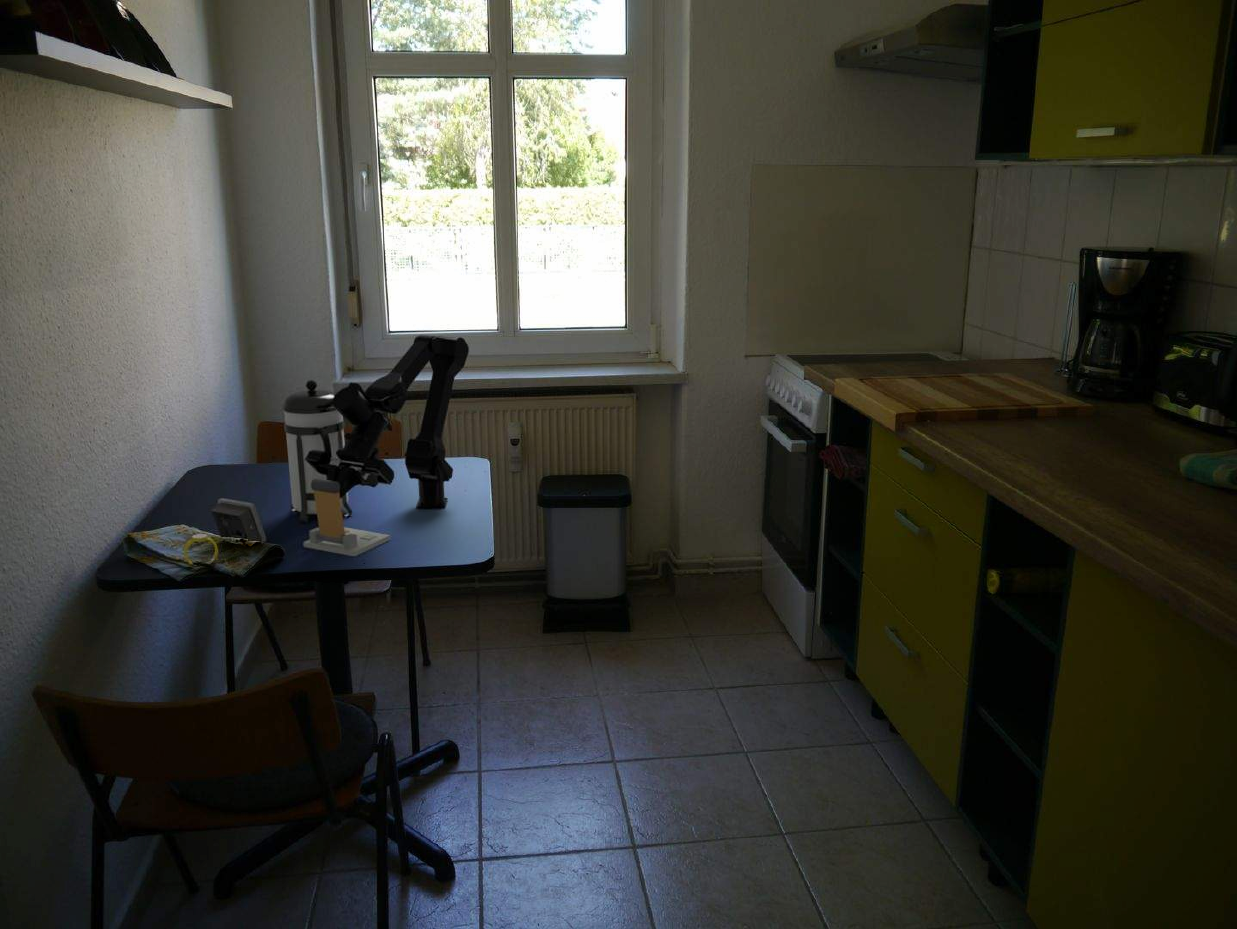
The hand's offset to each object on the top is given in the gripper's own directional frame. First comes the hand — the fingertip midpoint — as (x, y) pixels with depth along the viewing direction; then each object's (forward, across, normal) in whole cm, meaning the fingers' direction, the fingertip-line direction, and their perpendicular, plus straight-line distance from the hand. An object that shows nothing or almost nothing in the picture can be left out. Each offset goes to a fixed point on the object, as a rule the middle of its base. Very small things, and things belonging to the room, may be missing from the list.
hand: (331, 503), depth 204 cm
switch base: (+4, 0, -9) cm, 10 cm away
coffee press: (-5, +17, -18) cm, 26 cm away
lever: (+5, 0, -5) cm, 7 cm away
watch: (+20, +17, +6) cm, 27 cm away
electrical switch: (+11, +20, -3) cm, 23 cm away
